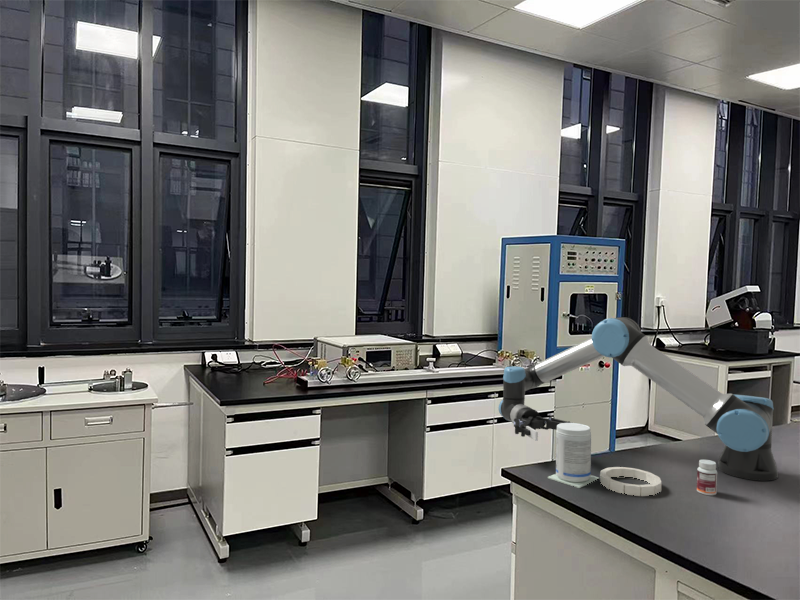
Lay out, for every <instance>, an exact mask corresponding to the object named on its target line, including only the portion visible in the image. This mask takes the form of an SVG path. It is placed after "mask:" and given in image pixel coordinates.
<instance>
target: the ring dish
mask: <svg viewBox="0 0 800 600" xmlns="http://www.w3.org/2000/svg"><path fill="white" fill-rule="evenodd" d="M619 476H624V477H623V478H625V477H633V478H632V479H634V478H637V479H636V480H638V479H640V480H639V481H641V480H644V481H643V482H645V481H647V482H648V483H647V482H646V483H647V484H634V483H633V484H632V483H627V482H622V481H618V480H615V479H614V478H613V479H612V478H611V477H617V478H620V477H619ZM599 482H601V483H600V485H601V484H602V485H603V487H604V486H605V487H606V489H607V490H609V489H610V490H609V491H611V490H612V492H614V491H615V492H614V493H618V494H621V493H622V494H621V495H625V494H627V495H626V496H633V495H634V496H636V497H650V496H649V495H653V496H656V495H658V494H660V493H662V485H663V484H662V480H661V477H660V476H658V475H656V474H654V473H652V472H650V471H648V470H643V469H639V468H634V467H624V466H621V467H620V466H613V467H612V466H611V467H606V468H604V469H601V470H600V473H599ZM649 483H650V484H649ZM602 485H601V486H602ZM605 487H604V488H605ZM659 492H660V493H659ZM624 493H625V494H624ZM657 493H658V494H657ZM655 494H656V495H655Z"/></svg>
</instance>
